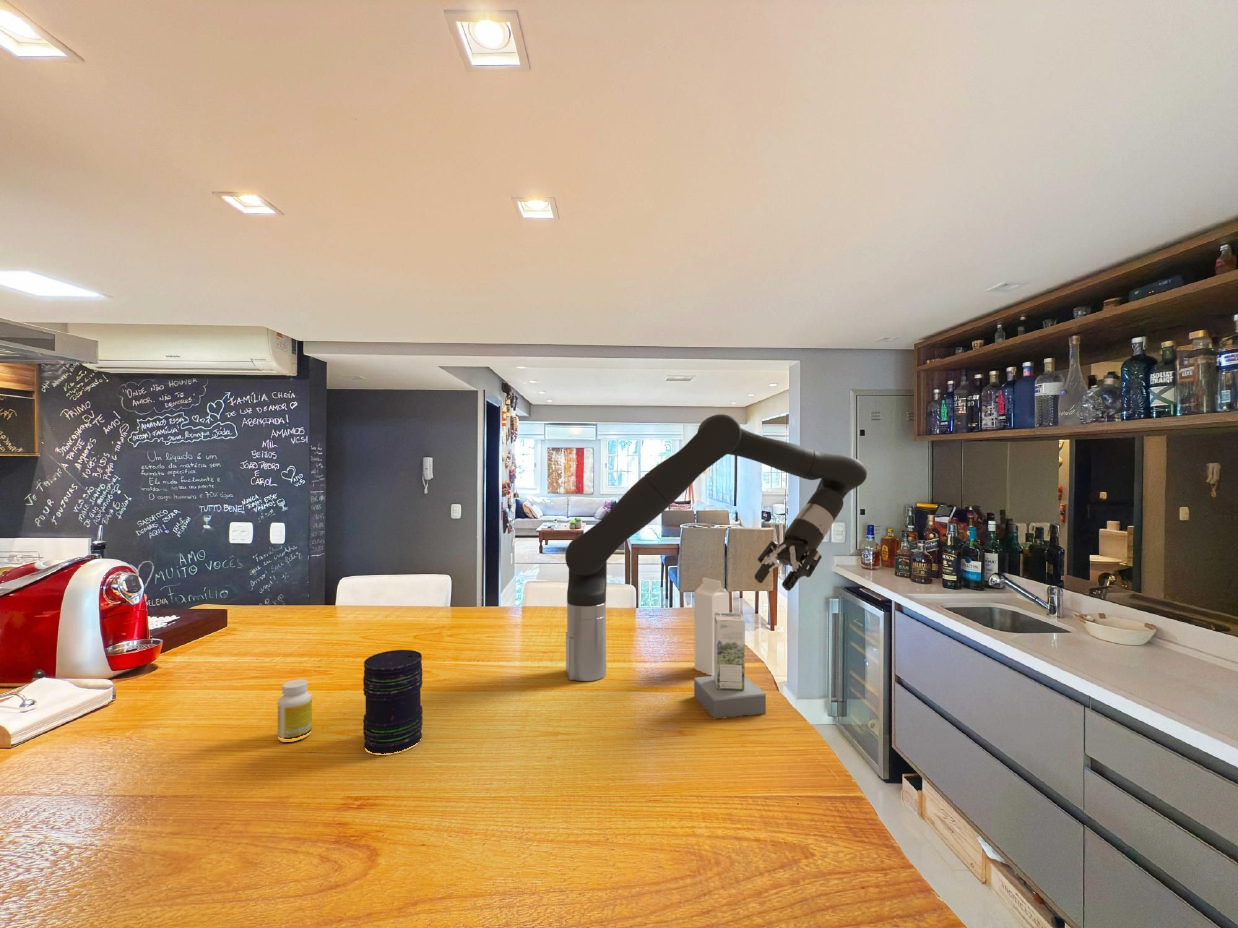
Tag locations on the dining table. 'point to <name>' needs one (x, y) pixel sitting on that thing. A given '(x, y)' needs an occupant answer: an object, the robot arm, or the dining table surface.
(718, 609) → the milk
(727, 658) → the syrup box
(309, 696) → the supplement bottle
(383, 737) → the storage jar
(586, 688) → the dining table surface
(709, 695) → the podium
